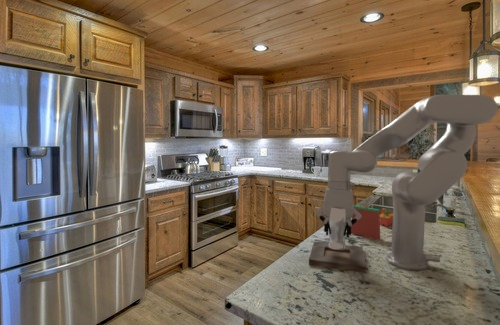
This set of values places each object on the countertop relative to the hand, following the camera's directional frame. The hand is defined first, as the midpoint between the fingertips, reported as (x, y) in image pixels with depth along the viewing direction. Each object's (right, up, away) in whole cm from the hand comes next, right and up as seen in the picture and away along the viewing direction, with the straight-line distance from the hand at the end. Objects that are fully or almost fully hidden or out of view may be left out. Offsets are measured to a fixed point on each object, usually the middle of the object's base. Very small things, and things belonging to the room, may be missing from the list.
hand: (337, 234), depth 99 cm
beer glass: (0, -5, 0) cm, 5 cm away
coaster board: (0, -9, +1) cm, 9 cm away
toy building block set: (+32, -7, +36) cm, 49 cm away
